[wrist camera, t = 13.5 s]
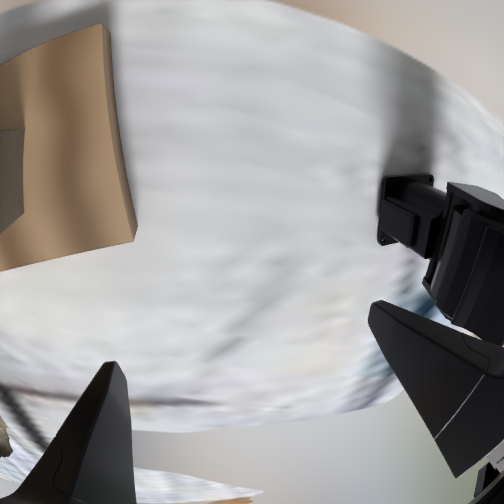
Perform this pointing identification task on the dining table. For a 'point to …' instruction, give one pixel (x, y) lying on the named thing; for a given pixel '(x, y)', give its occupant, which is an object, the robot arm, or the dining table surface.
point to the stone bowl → (4, 440)
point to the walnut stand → (66, 150)
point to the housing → (11, 176)
